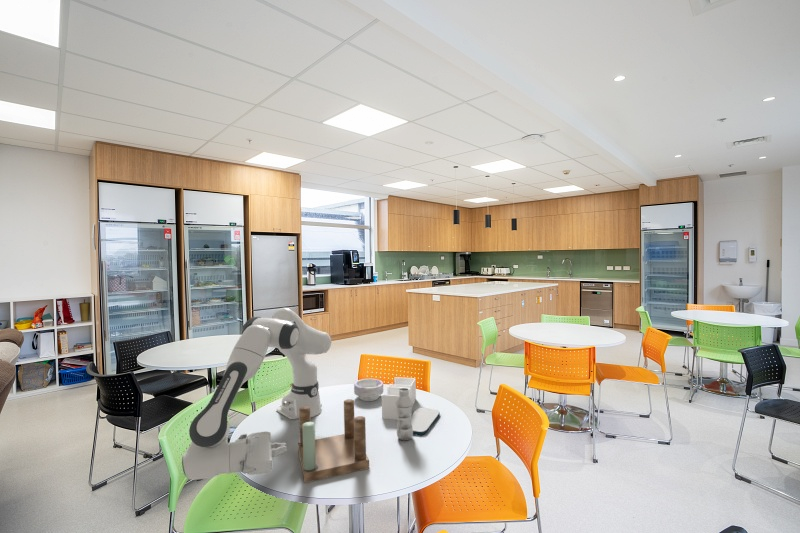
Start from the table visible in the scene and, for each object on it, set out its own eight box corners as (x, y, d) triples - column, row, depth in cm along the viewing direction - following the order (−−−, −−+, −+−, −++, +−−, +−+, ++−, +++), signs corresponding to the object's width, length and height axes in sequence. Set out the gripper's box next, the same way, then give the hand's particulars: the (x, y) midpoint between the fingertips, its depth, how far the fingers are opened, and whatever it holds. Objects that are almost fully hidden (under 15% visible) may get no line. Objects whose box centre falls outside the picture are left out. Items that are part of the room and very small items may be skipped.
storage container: (405, 420, 169) (405, 396, 168) (382, 418, 171) (381, 394, 171) (415, 399, 193) (415, 378, 193) (395, 398, 196) (394, 377, 195)
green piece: (302, 452, 136) (301, 413, 135) (313, 451, 137) (312, 411, 136) (303, 471, 124) (302, 428, 124) (316, 469, 125) (315, 426, 125)
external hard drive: (424, 437, 153) (424, 433, 153) (398, 433, 158) (398, 428, 158) (441, 414, 175) (441, 410, 175) (418, 411, 179) (418, 406, 179)
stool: (304, 482, 124) (303, 431, 123) (298, 450, 144) (297, 406, 144) (369, 468, 131) (368, 420, 131) (354, 439, 152) (353, 398, 151)
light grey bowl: (389, 397, 196) (389, 382, 196) (367, 406, 185) (367, 390, 185) (370, 390, 207) (370, 376, 207) (348, 398, 196) (348, 383, 196)
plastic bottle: (414, 442, 149) (413, 392, 148) (397, 442, 148) (396, 392, 148) (412, 434, 155) (411, 386, 155) (396, 435, 155) (395, 387, 154)
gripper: (238, 463, 109) (288, 453, 114) (241, 431, 128) (284, 424, 133) (239, 484, 110) (288, 473, 114) (242, 449, 129) (284, 441, 134)
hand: (286, 446), depth 124 cm, fingers closed
